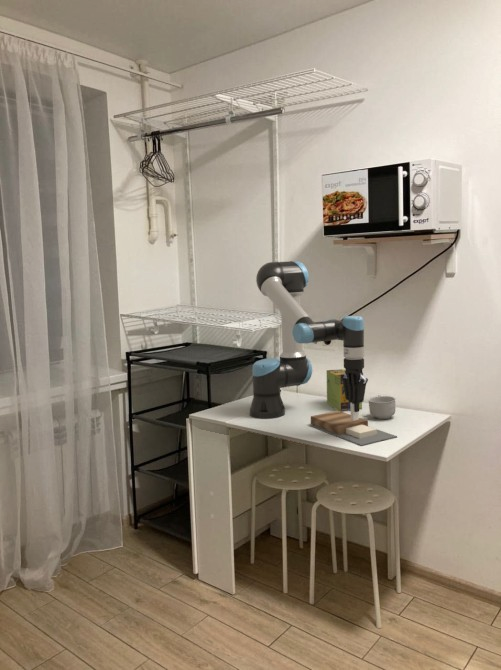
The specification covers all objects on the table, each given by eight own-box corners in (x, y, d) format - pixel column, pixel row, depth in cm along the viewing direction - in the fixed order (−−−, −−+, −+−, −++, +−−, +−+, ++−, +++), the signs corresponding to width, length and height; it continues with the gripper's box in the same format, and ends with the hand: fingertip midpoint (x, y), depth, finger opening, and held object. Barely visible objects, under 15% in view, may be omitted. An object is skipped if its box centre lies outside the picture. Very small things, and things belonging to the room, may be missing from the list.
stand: (310, 423, 231) (310, 416, 230) (338, 417, 238) (338, 410, 237) (339, 434, 215) (339, 426, 215) (368, 427, 222) (367, 420, 222)
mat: (310, 426, 228) (310, 425, 228) (344, 419, 237) (344, 418, 237) (361, 446, 203) (361, 444, 203) (397, 437, 211) (397, 436, 211)
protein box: (340, 411, 248) (340, 376, 246) (326, 403, 263) (326, 370, 261) (362, 409, 251) (362, 374, 249) (347, 401, 266) (347, 368, 264)
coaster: (345, 433, 217) (345, 428, 216) (362, 429, 220) (362, 424, 220) (360, 438, 210) (360, 433, 209) (376, 434, 214) (376, 429, 213)
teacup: (395, 421, 231) (395, 402, 230) (367, 420, 234) (367, 401, 233) (396, 412, 244) (396, 394, 243) (370, 411, 247) (369, 393, 246)
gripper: (334, 356, 219) (335, 417, 222) (357, 361, 207) (358, 425, 210) (350, 354, 222) (351, 414, 225) (373, 358, 211) (374, 421, 214)
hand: (354, 419), depth 218 cm, fingers closed
